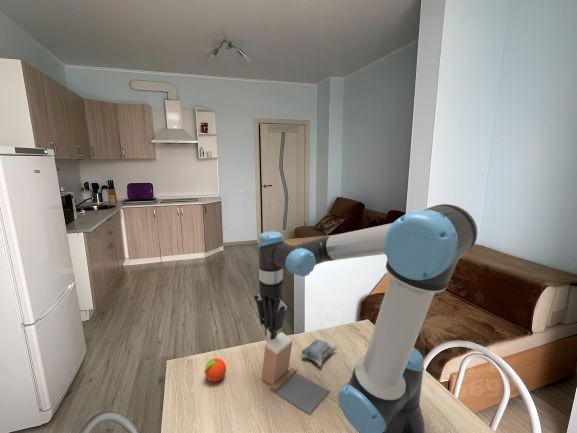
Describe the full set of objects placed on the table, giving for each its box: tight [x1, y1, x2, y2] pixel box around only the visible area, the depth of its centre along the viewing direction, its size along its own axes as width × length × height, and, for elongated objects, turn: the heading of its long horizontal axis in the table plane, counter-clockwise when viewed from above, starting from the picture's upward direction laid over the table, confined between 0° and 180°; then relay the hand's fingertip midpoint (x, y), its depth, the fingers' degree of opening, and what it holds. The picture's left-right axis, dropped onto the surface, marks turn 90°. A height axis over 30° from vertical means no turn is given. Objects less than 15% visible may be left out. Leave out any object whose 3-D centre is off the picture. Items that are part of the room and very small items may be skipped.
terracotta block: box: [261, 331, 293, 387], centre depth 98 cm, size 5×8×14 cm, turn 143°
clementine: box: [203, 357, 227, 383], centre depth 98 cm, size 8×7×7 cm
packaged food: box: [301, 338, 338, 367], centre depth 110 cm, size 9×12×5 cm
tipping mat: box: [270, 367, 330, 416], centre depth 94 cm, size 15×11×2 cm
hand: (270, 345), depth 99 cm, fingers closed
